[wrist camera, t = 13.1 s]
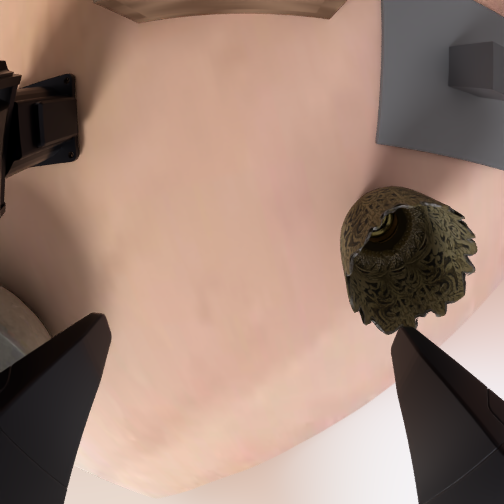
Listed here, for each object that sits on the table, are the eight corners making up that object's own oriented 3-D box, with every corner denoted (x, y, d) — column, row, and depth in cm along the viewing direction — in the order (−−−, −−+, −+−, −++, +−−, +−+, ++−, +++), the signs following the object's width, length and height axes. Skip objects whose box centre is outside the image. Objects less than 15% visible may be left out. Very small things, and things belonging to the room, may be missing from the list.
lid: (372, 141, 19) (411, 160, 13) (376, -30, 12) (411, -62, 7) (505, 169, 18) (552, 194, 13) (512, 28, 12) (560, 25, 7)
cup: (402, 147, 18) (469, 181, 11) (427, 237, 21) (481, 298, 14) (304, 190, 20) (325, 247, 13) (342, 276, 23) (369, 352, 16)
